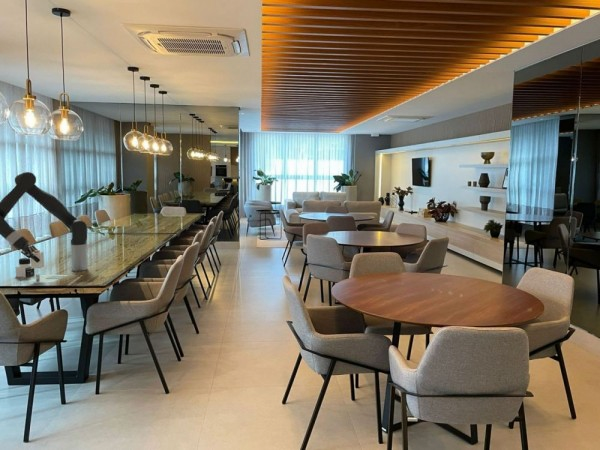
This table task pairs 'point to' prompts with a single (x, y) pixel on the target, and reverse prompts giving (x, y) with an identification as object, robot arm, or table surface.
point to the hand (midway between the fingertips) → (40, 260)
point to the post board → (46, 278)
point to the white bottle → (41, 262)
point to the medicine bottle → (24, 268)
